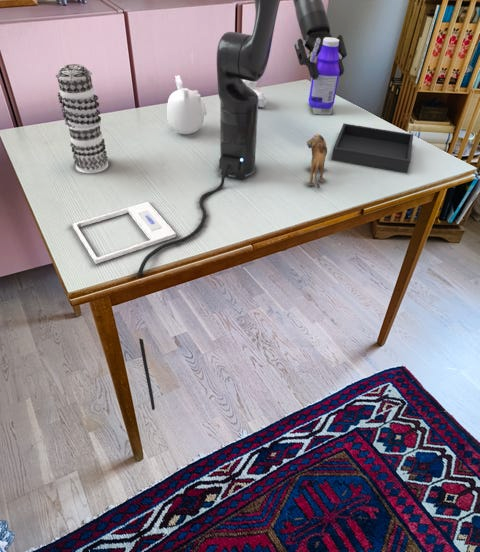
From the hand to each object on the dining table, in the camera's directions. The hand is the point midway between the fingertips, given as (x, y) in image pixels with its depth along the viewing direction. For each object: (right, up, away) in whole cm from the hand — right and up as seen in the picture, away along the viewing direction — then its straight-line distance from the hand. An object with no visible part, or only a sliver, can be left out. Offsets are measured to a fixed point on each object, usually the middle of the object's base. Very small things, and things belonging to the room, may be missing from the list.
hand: (328, 76), depth 123 cm
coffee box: (+4, +3, +33) cm, 34 cm away
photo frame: (-49, -44, -22) cm, 69 cm away
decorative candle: (-63, -24, 0) cm, 68 cm away
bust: (-20, +5, +35) cm, 40 cm away
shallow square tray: (+15, -18, +10) cm, 25 cm away
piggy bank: (-40, -9, +18) cm, 44 cm away
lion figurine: (-4, -27, 0) cm, 27 cm away
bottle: (-1, -6, +7) cm, 9 cm away
